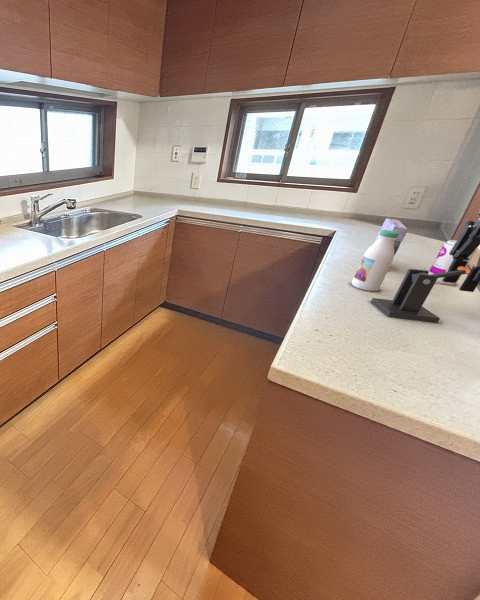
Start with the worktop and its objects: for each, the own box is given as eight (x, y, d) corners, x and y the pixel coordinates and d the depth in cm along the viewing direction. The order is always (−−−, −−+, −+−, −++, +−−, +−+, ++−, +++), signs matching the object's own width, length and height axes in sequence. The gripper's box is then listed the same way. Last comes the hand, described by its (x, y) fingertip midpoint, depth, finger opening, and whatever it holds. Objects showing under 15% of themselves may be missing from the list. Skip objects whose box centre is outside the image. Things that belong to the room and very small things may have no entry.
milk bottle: (377, 286, 115) (403, 230, 106) (379, 293, 109) (408, 235, 100) (350, 281, 119) (373, 227, 110) (351, 287, 113) (376, 231, 104)
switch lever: (463, 271, 92) (464, 263, 91) (477, 278, 87) (478, 269, 86) (408, 279, 96) (408, 272, 95) (419, 286, 92) (419, 278, 91)
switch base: (415, 307, 101) (436, 268, 95) (437, 322, 92) (462, 281, 86) (370, 301, 103) (388, 264, 98) (388, 316, 95) (409, 276, 89)
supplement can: (424, 280, 121) (445, 241, 114) (426, 275, 126) (446, 238, 119) (454, 287, 116) (479, 247, 109) (455, 282, 121) (479, 243, 114)
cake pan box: (388, 272, 128) (409, 228, 120) (372, 269, 131) (392, 226, 123) (380, 259, 143) (399, 219, 135) (366, 257, 145) (383, 217, 137)
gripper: (460, 195, 90) (419, 272, 100) (523, 207, 74) (466, 298, 84) (494, 197, 88) (449, 275, 99) (566, 209, 72) (502, 302, 82)
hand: (457, 286), depth 91 cm, fingers open, 6 cm apart
